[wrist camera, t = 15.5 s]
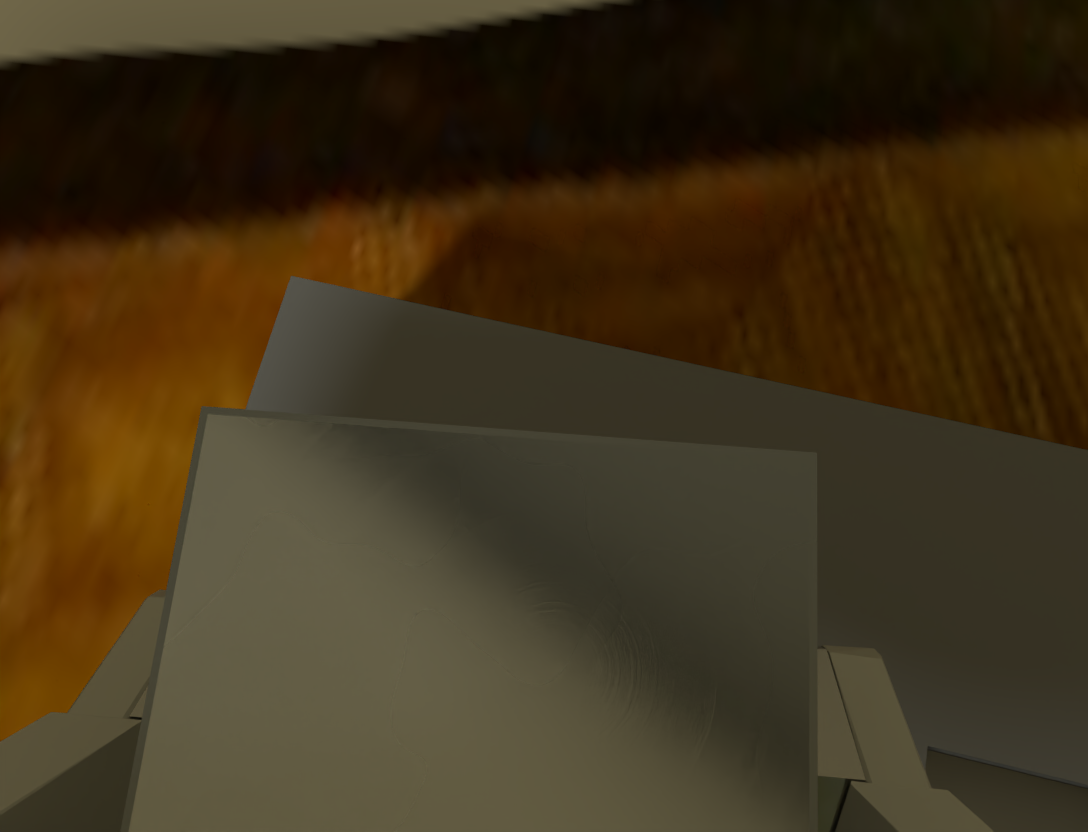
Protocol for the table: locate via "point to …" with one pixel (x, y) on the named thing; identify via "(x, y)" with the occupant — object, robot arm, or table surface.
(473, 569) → the grey square-topped block
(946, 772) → the caddy
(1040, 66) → the table surface
